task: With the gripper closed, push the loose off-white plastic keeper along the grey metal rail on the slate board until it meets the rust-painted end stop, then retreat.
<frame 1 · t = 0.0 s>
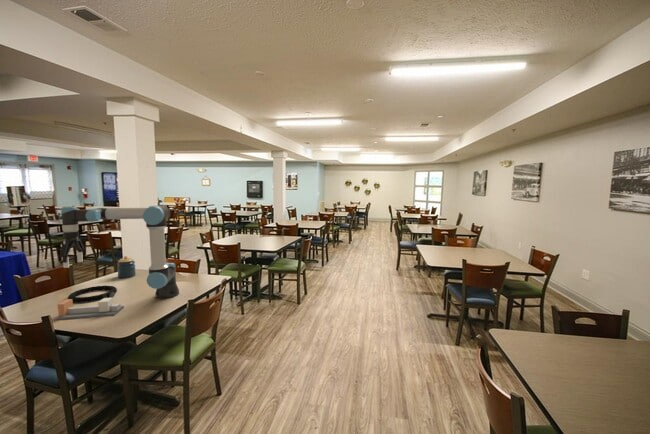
hand: (73, 264, 185), 28 cm above the table, fingers open, 13 cm apart
cable lock: (94, 296, 208), on the table
rail board: (91, 313, 179), on the table
canister: (127, 276, 254), on the table
keeper: (106, 304, 180), point 5 cm above the table, slide at -8.0 cm
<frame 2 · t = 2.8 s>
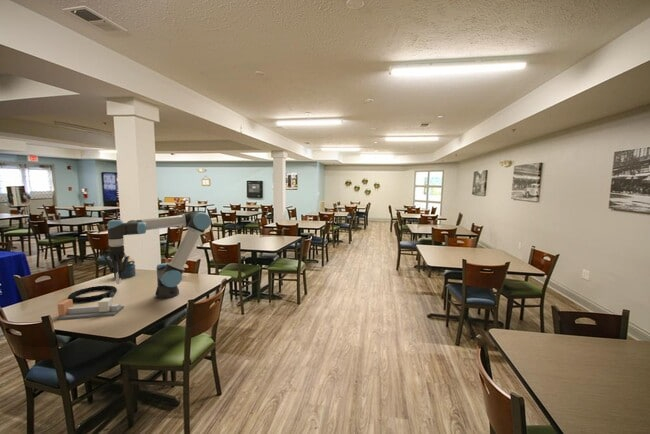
hand: (118, 283, 180), 18 cm above the table, fingers closed
nothing on the table moved.
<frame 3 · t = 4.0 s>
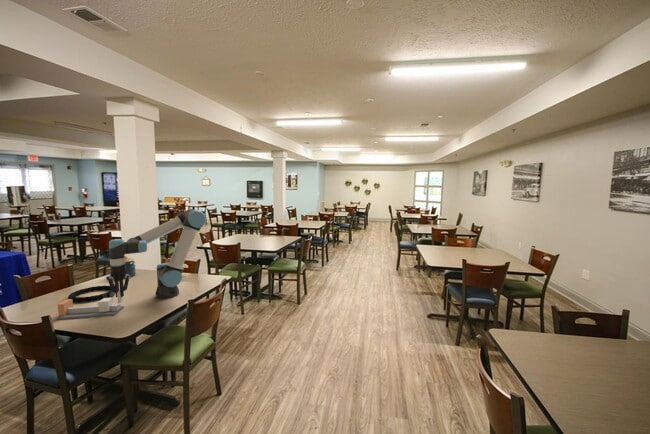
hand: (120, 302, 181), 6 cm above the table, fingers closed
nothing on the table moved.
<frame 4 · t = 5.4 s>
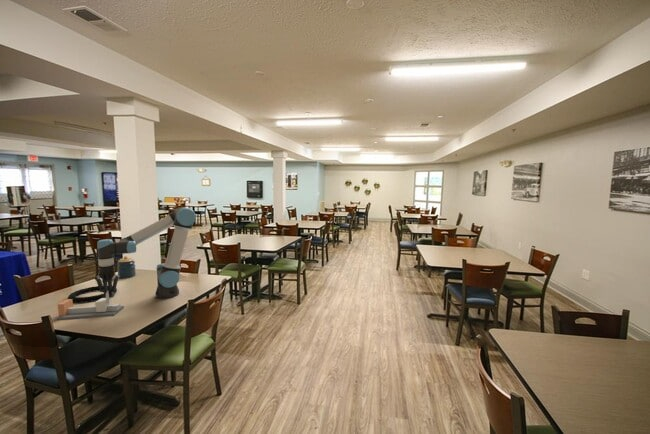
hand: (108, 302, 180), 6 cm above the table, fingers closed
keeper: (103, 304, 180), point 5 cm above the table, slide at -6.4 cm, touching gripper
everything else where it was.
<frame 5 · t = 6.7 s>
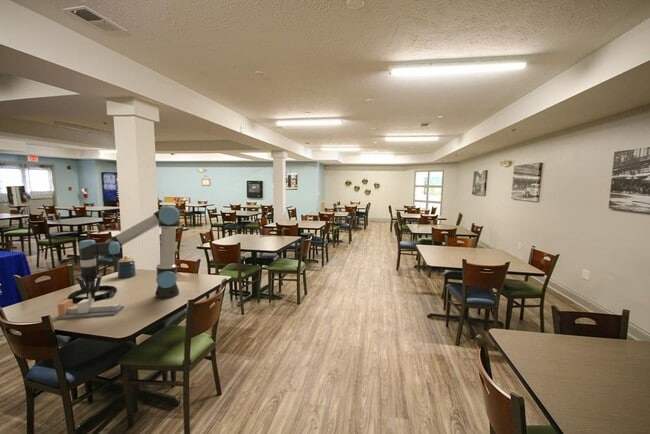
hand: (91, 303, 178), 6 cm above the table, fingers closed
keeper: (85, 306, 178), point 5 cm above the table, slide at 3.0 cm, touching gripper
everything else where it was.
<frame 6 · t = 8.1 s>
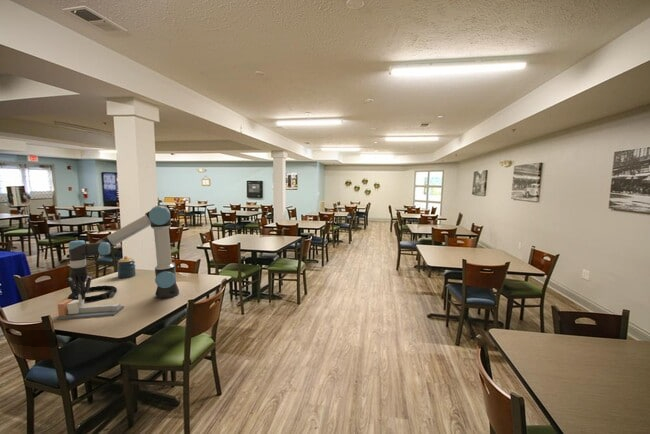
hand: (81, 304, 177), 6 cm above the table, fingers closed
keeper: (75, 306, 177), point 5 cm above the table, slide at 8.2 cm, touching gripper
everything else where it was.
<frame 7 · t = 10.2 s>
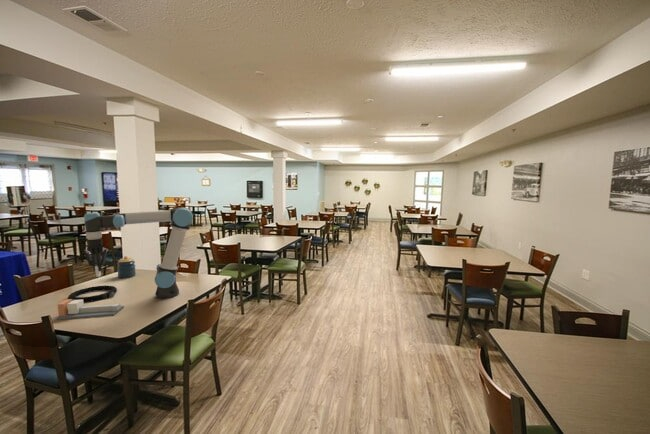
hand: (98, 276, 180), 22 cm above the table, fingers closed
keeper: (75, 306, 177), point 5 cm above the table, slide at 8.2 cm
everything else where it was.
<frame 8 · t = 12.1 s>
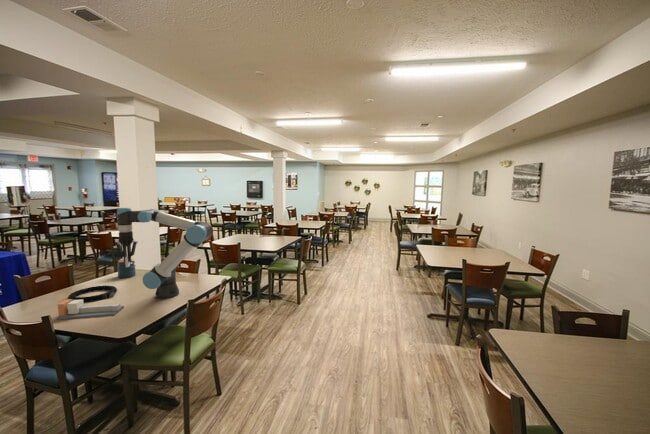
hand: (127, 266, 194), 24 cm above the table, fingers closed
nothing on the table moved.
at the end: keeper slide at 8.2 cm; the gripper is holding nothing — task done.
